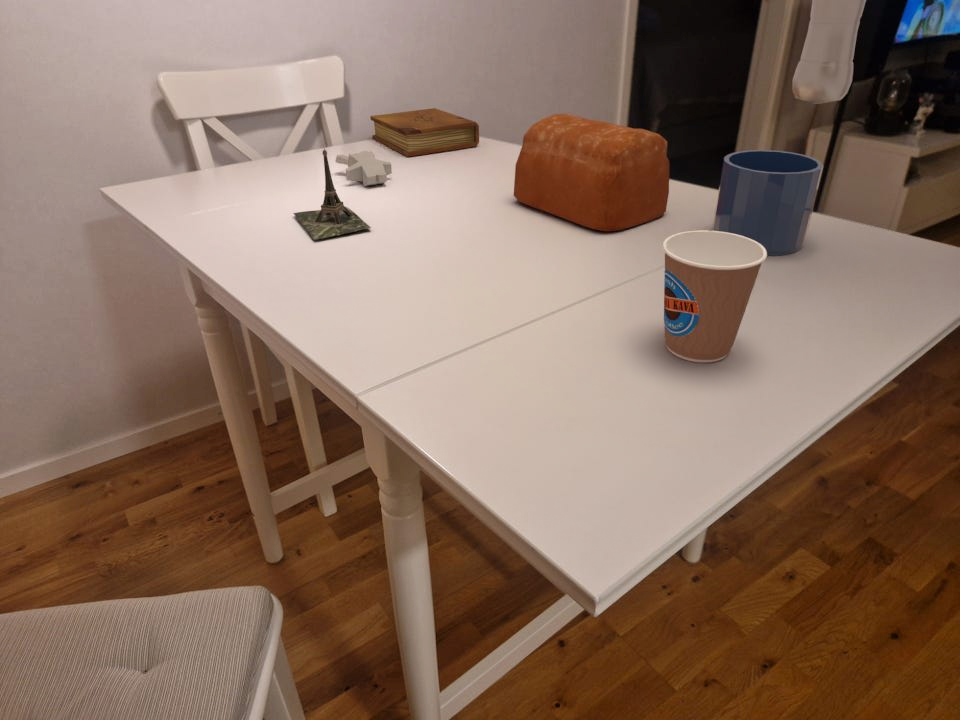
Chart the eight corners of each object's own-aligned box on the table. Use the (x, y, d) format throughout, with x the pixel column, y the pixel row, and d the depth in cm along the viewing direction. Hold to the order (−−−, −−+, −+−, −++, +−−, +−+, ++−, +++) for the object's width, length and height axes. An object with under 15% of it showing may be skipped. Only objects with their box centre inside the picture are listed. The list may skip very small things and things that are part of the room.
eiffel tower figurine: (291, 216, 117) (278, 138, 110) (346, 206, 121) (337, 131, 114) (314, 242, 105) (300, 157, 98) (374, 231, 109) (365, 149, 102)
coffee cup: (635, 332, 77) (645, 235, 71) (714, 321, 79) (731, 225, 73) (677, 377, 69) (693, 272, 63) (764, 363, 71) (789, 260, 65)
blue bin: (780, 223, 108) (796, 148, 102) (820, 253, 96) (841, 171, 90) (699, 226, 108) (711, 151, 101) (730, 257, 96) (745, 175, 90)
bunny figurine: (353, 171, 126) (328, 146, 137) (355, 196, 129) (331, 170, 140) (399, 164, 130) (371, 140, 141) (400, 188, 133) (373, 164, 144)
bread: (604, 237, 104) (612, 141, 96) (507, 201, 121) (507, 117, 113) (674, 214, 113) (686, 124, 105) (574, 184, 130) (578, 104, 122)
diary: (479, 146, 158) (478, 121, 155) (407, 157, 150) (405, 131, 148) (438, 129, 175) (437, 106, 172) (372, 138, 168) (370, 115, 165)
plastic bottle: (856, 106, 80) (907, -94, 69) (801, 108, 80) (843, -92, 69) (831, 97, 85) (874, -90, 75) (779, 99, 85) (815, -88, 75)
